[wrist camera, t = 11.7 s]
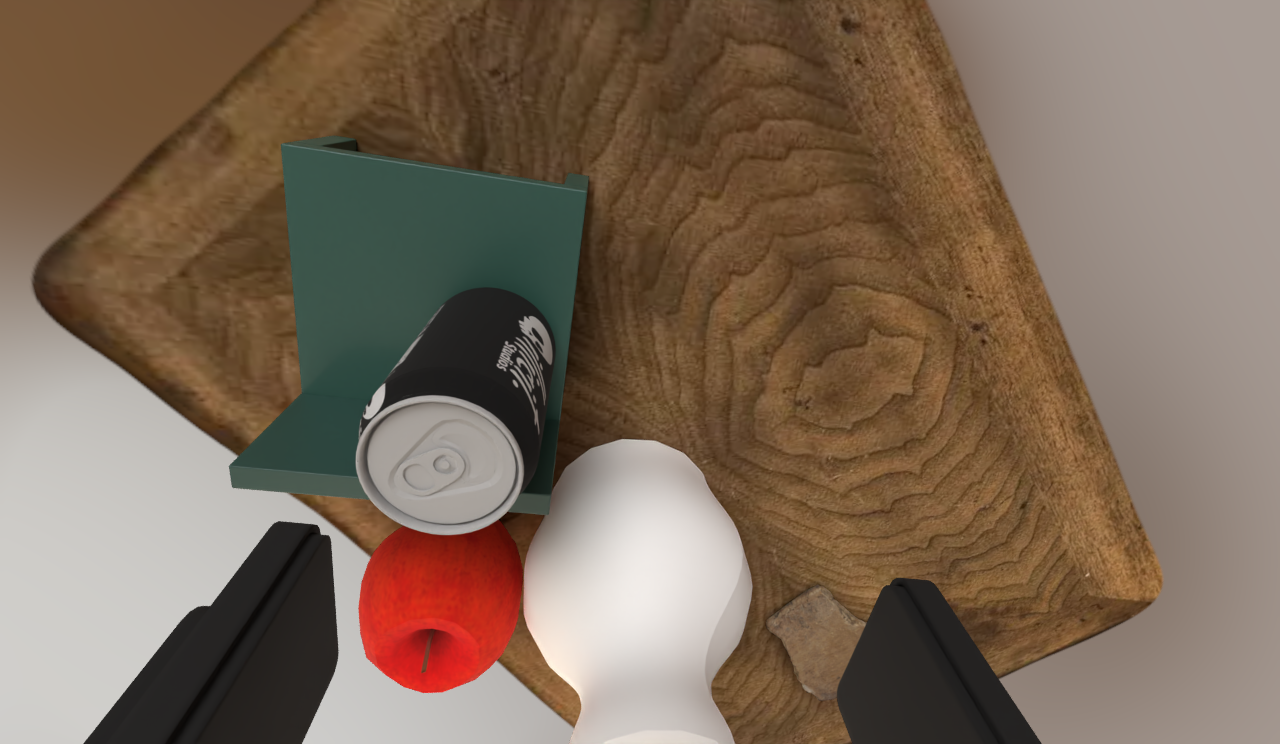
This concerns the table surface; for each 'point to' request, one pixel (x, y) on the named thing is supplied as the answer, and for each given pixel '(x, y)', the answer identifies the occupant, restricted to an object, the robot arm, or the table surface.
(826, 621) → the pottery shard
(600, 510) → the vase
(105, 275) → the table surface
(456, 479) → the beverage can
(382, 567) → the apple
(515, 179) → the green l-shaped bookend
